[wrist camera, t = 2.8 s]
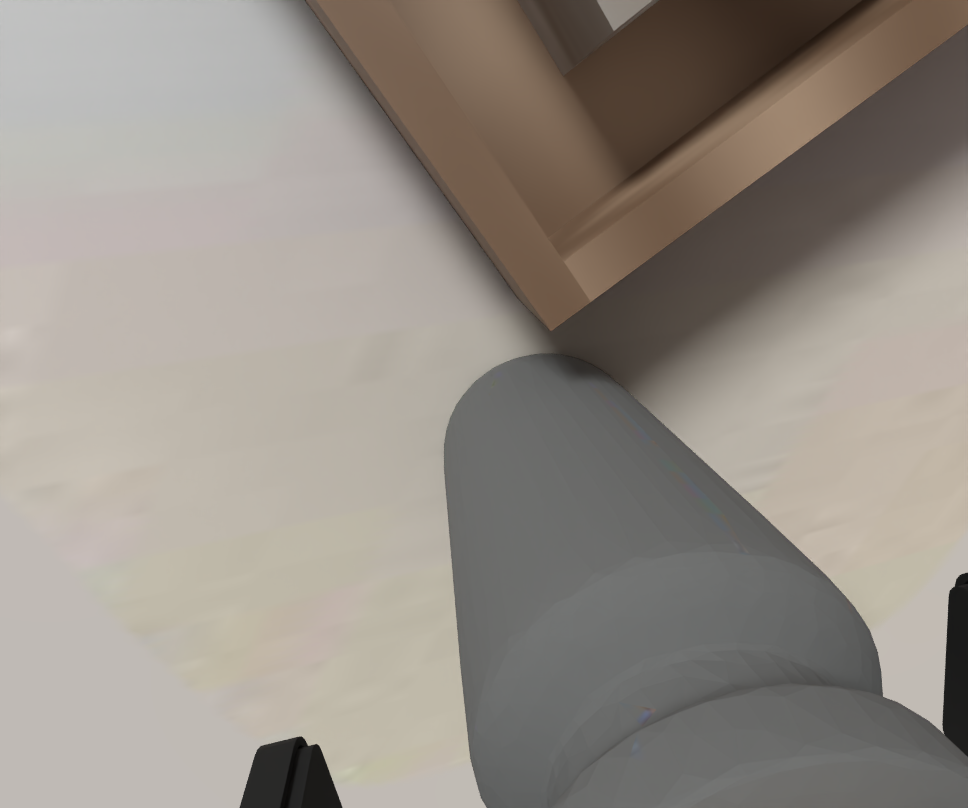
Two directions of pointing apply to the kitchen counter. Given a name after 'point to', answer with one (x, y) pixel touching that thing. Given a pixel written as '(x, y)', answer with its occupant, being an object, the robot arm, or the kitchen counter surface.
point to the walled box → (615, 112)
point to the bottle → (653, 623)
